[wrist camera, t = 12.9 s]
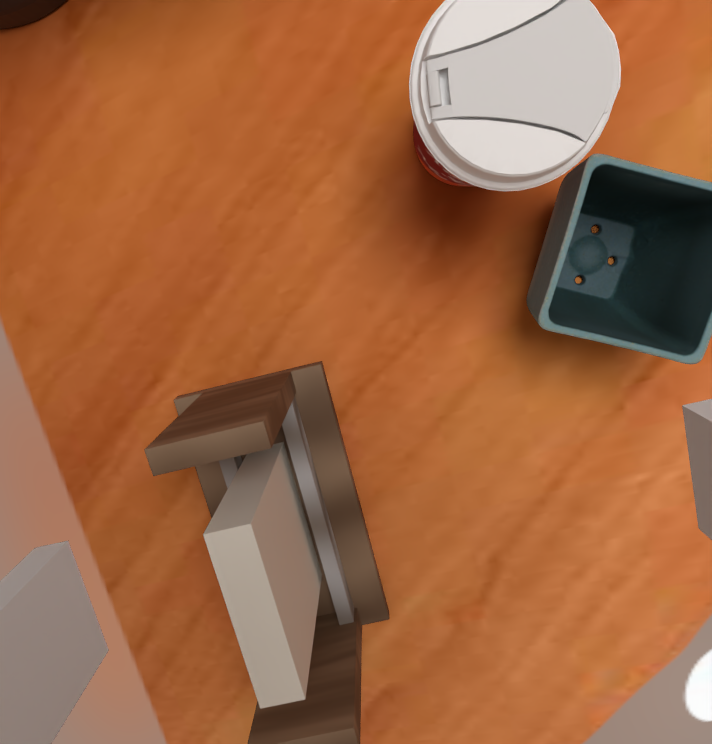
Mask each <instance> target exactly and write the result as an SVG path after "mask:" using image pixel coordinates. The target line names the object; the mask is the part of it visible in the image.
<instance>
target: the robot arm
mask: <svg viewBox="0 0 712 744" xmlns="http://www.w3.org/2000/svg"><path fill="white" fill-rule="evenodd" d="M65 1H66V0H0V29H7V28H13V27H17V26H21V25H25V24H28V23H31V22H33V21H35V20H38V19H40V18H42V17H44V16H45V15H47V14H49V13H50V12H52V11H53V10H55V9H56V8H58V7H59V6H60V5H61V4H63V3H64V2H65ZM682 407H683V415H684V422H685V430H686V437H687V445H688V452H689V460H690V467H691V475H692V482H693V490H694V497H695V504H696V512H697V519H698V527H699V529H700V530H701V531H702V532H703V533H704V534H706V535H707V536H708V537H709V538H710V539H711V540H712V399H709V400H705V401H700V402H696V403H691V404H686V405H682ZM108 650H109V649H108V647H107V644H106V642H105V639H104V636H103V633H102V630H101V628H100V625H99V623H98V620H97V617H96V614H95V612H94V609H93V606H92V604H91V601H90V598H89V596H88V593H87V590H86V587H85V585H84V582H83V579H82V577H81V574H80V572H79V569H78V566H77V563H76V560H75V558H74V555H73V552H72V550H71V547H70V544H69V542H68V541H64V542H60V543H55V544H51V545H46V546H42V547H37V548H34V549H33V550H32V551H31V552H30V553H29V554H28V555H27V556H26V557H25V558H24V559H23V560H22V561H21V562H20V563H19V564H18V565H16V566H15V567H14V568H13V569H12V570H11V571H10V572H9V573H8V574H7V575H6V576H5V577H4V578H3V579H2V580H1V581H0V744H52V742H53V740H54V739H55V737H56V735H57V734H58V732H59V730H60V729H61V727H62V726H63V724H64V722H65V720H66V719H67V717H68V716H69V714H70V713H71V711H72V709H73V708H74V706H75V704H76V703H77V701H78V700H79V698H80V696H81V695H82V693H83V691H84V690H85V688H86V687H87V685H88V683H89V682H90V680H91V678H92V677H93V675H94V673H95V672H96V670H97V669H98V667H99V665H100V664H101V662H102V660H103V659H104V657H105V656H106V654H107V652H108Z"/></svg>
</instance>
